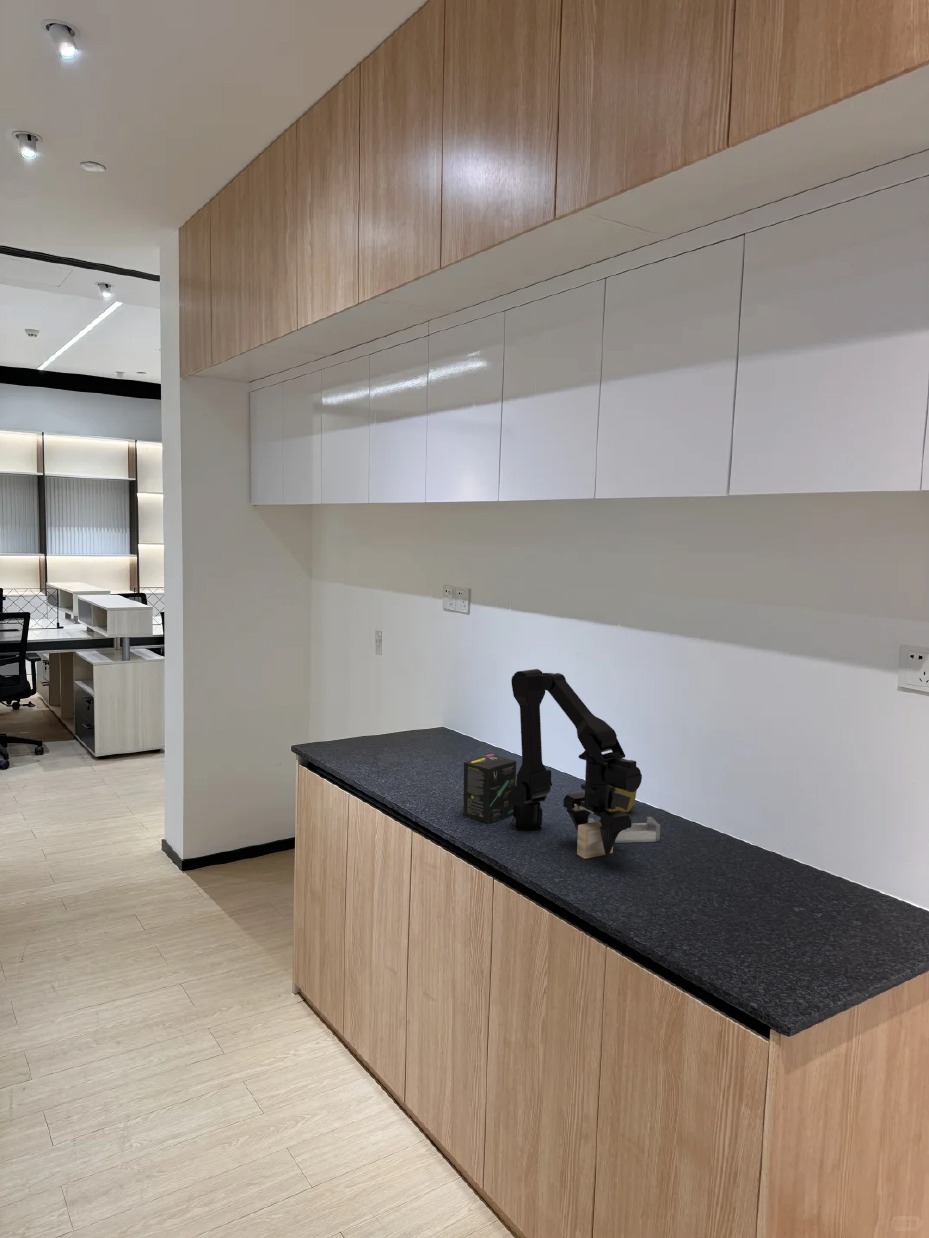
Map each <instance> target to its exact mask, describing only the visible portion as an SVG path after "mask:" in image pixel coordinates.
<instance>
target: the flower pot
mask: <svg viewBox="0 0 929 1238" xmlns="http://www.w3.org/2000/svg"><path fill="white" fill-rule="evenodd" d="M637 790H638V789H637ZM637 790H636V791H635V792H628V791H625V790H622V789H619V788H616V791H618V792H620V793H623V794H625V795H627V796H629V797H631V799H630V802H629V806H628V809H627V810H624V809H623V808H620V807H616V809H612V810H611V809H608V812H613V811H622V812H624V813H626V814H627V813H629V812H630V811H631V809H632V807H633V806H634V804H635V802H636V801H635V800H636V797H637V792H638V791H637Z"/></svg>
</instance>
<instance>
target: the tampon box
mask: <svg viewBox="0 0 929 1238" xmlns="http://www.w3.org/2000/svg"><path fill="white" fill-rule="evenodd" d="M516 780H517V760H516V759H510V758H508V757H504V756H501V755H497V754H493V753H489V754H487V755H482V756H479V757H476V758H472V759H468V760H464V761H463V813H462V814H463V816H466V817H468V818H471V819H474V820H476V821H477V820H478V821H480V822H482V823H485V824H487V825H489V824H492V823H494V822H497V821H499V820H503V819H505V818H508V817H510V816H513V809H514V805H513V804H511V803H509V801H508V796H507V795H508V793H509V792H510V791H511V790H513V789H514V788H515V787H516Z"/></svg>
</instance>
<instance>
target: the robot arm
mask: <svg viewBox="0 0 929 1238" xmlns="http://www.w3.org/2000/svg"><path fill="white" fill-rule="evenodd" d="M510 681H511V689H512V696H513V698H514V700H516V702H517V704H518V706H519V716H520V721H519V722H520V736H521V737H520V738H521V739H520V742H521V764H520V767H519V769H518V772H517V773H516V786H515V788H514V789H513V790H511V791H510V792H509V793H508V795H507V796H508V801H509V803H511V804H513V805H514V809H513V815H512V816H513V818H512V819H511V823H512V826H513V827H514V829H515V830H516V831H531V830H533V831H534V830H536V831H537V830H542V824H543V808H542V807H541V804H542V803H541V802H545V801H546V800H547V797H548V795H549V793H550V792H551V787H553V782H552V769H547V768H546V766H545V765H544V764H543V751H542V747H543V746H542V731H541V730H542V726H541V725H542V724H541V704H542V702H543V699H544V697H545V694H546V691H547V692H548V693H549V694H550V696H551V697H552V698H553V700H554V701H555V702H556V703H557V705H558V706H559V708H560V709H561V710H562V712H564V714H565V715H566V716H567V718H568V719H569V720H570V721H571V722H572V724H573V726H574V727H575V729H576V735H577V736H576V737H577V739H578V741H579V742H580V744H581V746H582V748H583V749H584V751H583V752H582V753H580V754H578V758H579V760H580V759H581V760H583V761H585V780H584V783H581V784H580V789H582V790H584V792H576V793H569V794H566V795H565V796H564V798H563V801H562V803H563V804H562V806H563V807H564V808H566V812H567V813H568V815H569V817H570V818H571V821H572V823H573V824H574V827H575V830H576V831H577V833H578V825H581V824H586V823H588V822H589V818H590V817H589V816H590V815H591V814H594V815H595V816H597V817H599V818H600V820H599V821H600V823H601V825H602V827H600V832H601V837H602V842H603V847H604V851H605V855H610V854H611V853H610V852H611V849H612V847H613V848H614V844H615V843H614V842H615V840H616V838H617V836H618V834H619V833H620V832H621V831H622V830H626V829H627V828H631V826H632V823H633V818H632V817H631V815H630V814H628V813H627V812H626V813H625V812H622V811H613V812H609V811H608V809H611V810H612V809H616V807H620V808H623V809H624V810H627V809H628V806H629V802H630V799H631V797H629V796H627V795H625V794H623V793H620V792H618V791H616V788H619V789H622V790H625V791H628V792H635V791H636V790H638V789H639V788H640V786H641V783H642V778H643V775H642V772H641V770H640V768H639V767H638V766H637V761H636V760H632V759H631V760H630V759H626V754H625V752H624V749H623V747H622V745H621V744H620V742H619V740H618V737H617V736H618V735H617V733H616V731H615V729H614V728H612V727H611V726H610V724H608V723H607V722H606V721H605V720H603V719H601V718H599V717H597V716H595V714H594V713H592V711H590V709H589V707H587V706H586V704H585V703H584V702H583V701H582V699H581V698H580V697H579V695H578V694H577V693H576V692H575V690H574V689H573V688H572V686H571V685H570V684H569V683H568V682H567V679H566V677H565V675H564V674H563V673H560V672H556V673H554V672H553V673H552V672H543V671H542V670H540V669H539V668H534V669H526V670H518V671H516V672H514V674H513V675H512V677H511V679H510ZM608 751H611V752H608ZM605 752H607V753H605Z"/></svg>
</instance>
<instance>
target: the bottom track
mask: <svg viewBox="0 0 929 1238" xmlns="http://www.w3.org/2000/svg"><path fill="white" fill-rule="evenodd" d="M592 822H596V821H595V819H594V818H593V817H588V823H592ZM660 836H661V824H659V823H658V821H656V820H655V818H654V817H652V816H646V822H640V823H639V822H637V823H636V822H635V823H633V822H632V826H631V828H627V829H626V830H622V831H621V832H620V833H619V834H618V836H617V838H616V840H615V842H614V844H620V843H621V844H623V843H653V842H660V841H661V840H660V838H661V837H660Z"/></svg>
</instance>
